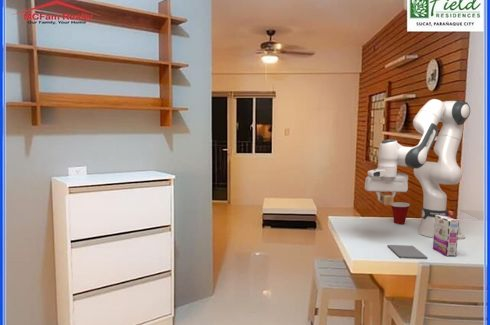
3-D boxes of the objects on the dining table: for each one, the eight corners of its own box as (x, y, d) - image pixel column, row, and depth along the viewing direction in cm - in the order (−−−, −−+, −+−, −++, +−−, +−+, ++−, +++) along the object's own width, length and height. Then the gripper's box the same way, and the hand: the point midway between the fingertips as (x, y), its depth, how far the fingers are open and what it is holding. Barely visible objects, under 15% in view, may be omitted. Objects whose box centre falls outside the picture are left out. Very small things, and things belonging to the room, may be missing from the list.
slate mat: (412, 247, 182) (412, 245, 182) (427, 259, 166) (427, 257, 166) (387, 246, 182) (387, 244, 182) (399, 258, 166) (399, 256, 166)
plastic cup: (386, 221, 232) (387, 201, 231) (403, 221, 233) (404, 201, 232) (394, 225, 221) (395, 205, 220) (412, 225, 222) (413, 205, 221)
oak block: (385, 196, 181) (378, 193, 191) (384, 205, 182) (378, 201, 192) (393, 197, 181) (386, 193, 191) (393, 205, 182) (386, 201, 192)
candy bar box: (457, 256, 170) (459, 220, 168) (446, 256, 170) (449, 220, 168) (442, 248, 181) (444, 214, 180) (432, 248, 181) (434, 214, 179)
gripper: (406, 172, 188) (404, 199, 190) (364, 171, 189) (363, 198, 191) (411, 173, 182) (409, 202, 184) (367, 172, 183) (366, 201, 184)
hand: (385, 200), depth 187 cm, fingers closed on oak block, 4 cm apart
